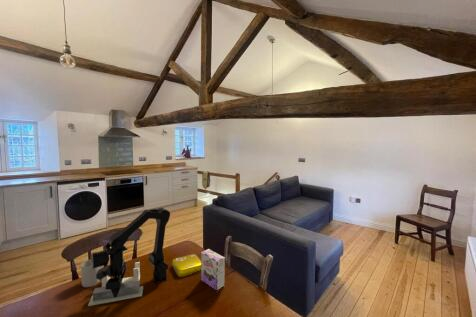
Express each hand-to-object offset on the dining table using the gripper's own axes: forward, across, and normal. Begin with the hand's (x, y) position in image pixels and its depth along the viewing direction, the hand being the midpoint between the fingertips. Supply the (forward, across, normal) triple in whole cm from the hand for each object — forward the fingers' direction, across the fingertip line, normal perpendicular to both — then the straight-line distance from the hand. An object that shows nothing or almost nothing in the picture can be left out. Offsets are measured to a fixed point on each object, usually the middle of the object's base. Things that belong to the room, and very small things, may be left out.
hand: (117, 291), depth 110 cm
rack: (+3, -12, 0) cm, 12 cm away
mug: (+3, -18, -15) cm, 24 cm away
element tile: (+3, -16, +36) cm, 39 cm away
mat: (+3, 0, 0) cm, 3 cm away
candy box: (+3, +4, +47) cm, 47 cm away
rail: (+2, 0, 0) cm, 2 cm away
